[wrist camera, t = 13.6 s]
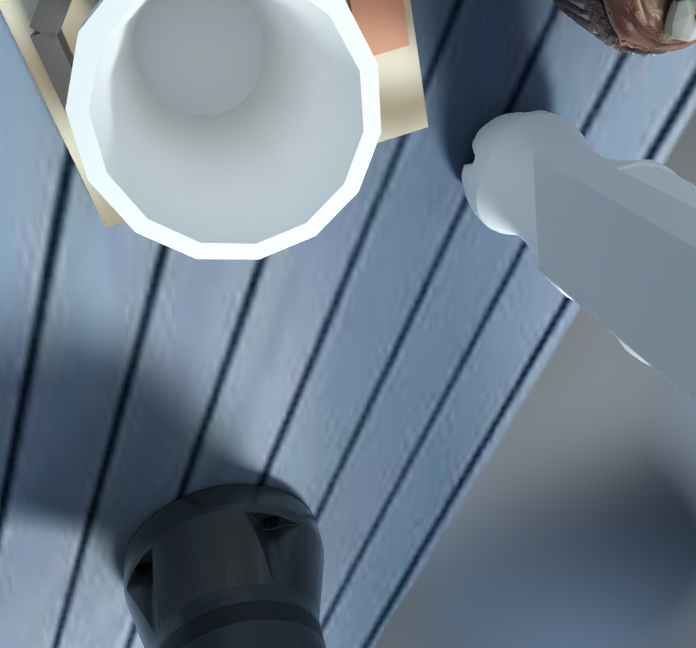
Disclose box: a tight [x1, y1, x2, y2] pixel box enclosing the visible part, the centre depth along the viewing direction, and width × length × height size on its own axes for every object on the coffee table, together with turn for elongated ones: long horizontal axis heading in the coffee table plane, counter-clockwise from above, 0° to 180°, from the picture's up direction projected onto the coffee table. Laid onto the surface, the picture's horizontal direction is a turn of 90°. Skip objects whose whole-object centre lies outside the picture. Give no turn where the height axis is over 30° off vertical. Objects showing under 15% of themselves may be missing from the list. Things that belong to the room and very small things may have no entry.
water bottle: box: [462, 110, 696, 366], centre depth 29 cm, size 7×7×25 cm
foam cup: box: [65, 0, 381, 259], centre depth 25 cm, size 10×9×13 cm
